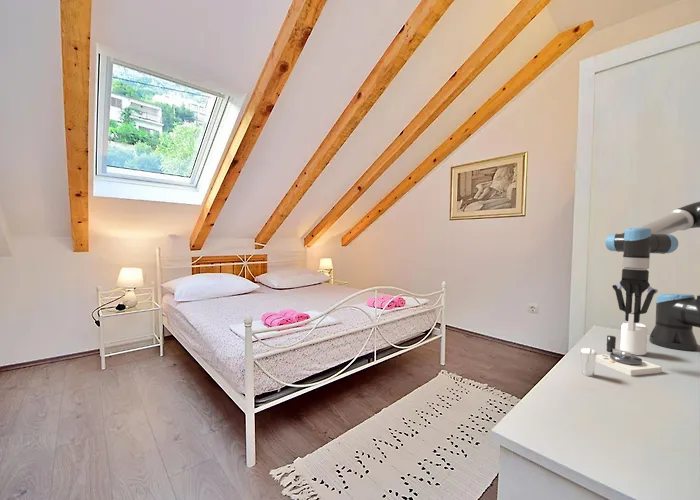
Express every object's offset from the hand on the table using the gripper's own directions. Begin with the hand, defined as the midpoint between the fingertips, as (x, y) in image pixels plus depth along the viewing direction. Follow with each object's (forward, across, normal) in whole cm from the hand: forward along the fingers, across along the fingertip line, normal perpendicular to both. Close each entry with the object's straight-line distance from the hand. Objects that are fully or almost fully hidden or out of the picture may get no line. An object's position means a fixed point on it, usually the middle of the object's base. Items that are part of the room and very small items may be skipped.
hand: (631, 330), depth 121 cm
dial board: (+13, 0, +5) cm, 14 cm away
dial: (+11, +1, +5) cm, 12 cm away
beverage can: (+13, +4, -16) cm, 20 cm away
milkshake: (+13, +4, +26) cm, 29 cm away
